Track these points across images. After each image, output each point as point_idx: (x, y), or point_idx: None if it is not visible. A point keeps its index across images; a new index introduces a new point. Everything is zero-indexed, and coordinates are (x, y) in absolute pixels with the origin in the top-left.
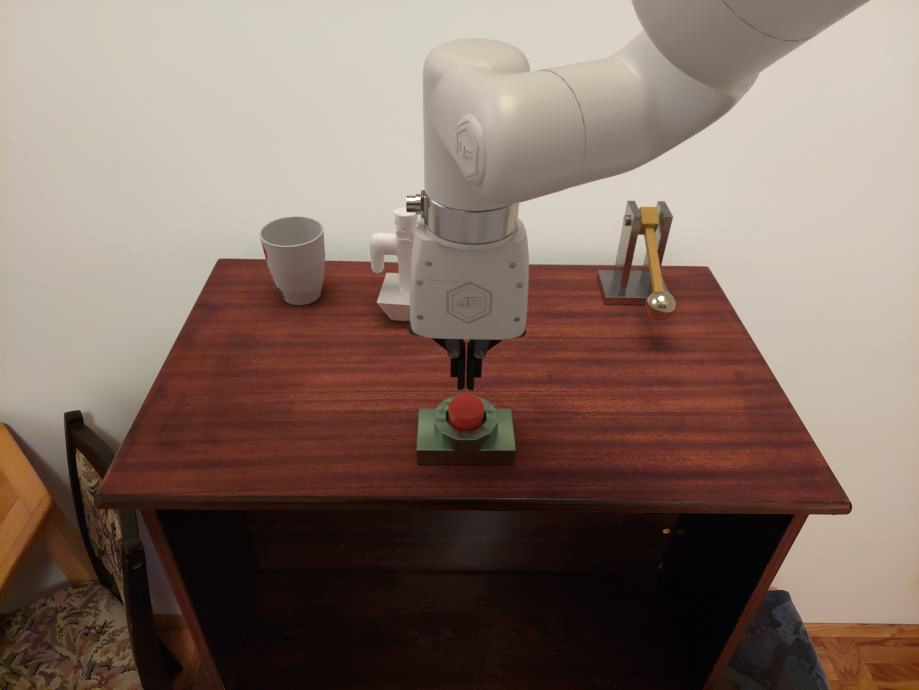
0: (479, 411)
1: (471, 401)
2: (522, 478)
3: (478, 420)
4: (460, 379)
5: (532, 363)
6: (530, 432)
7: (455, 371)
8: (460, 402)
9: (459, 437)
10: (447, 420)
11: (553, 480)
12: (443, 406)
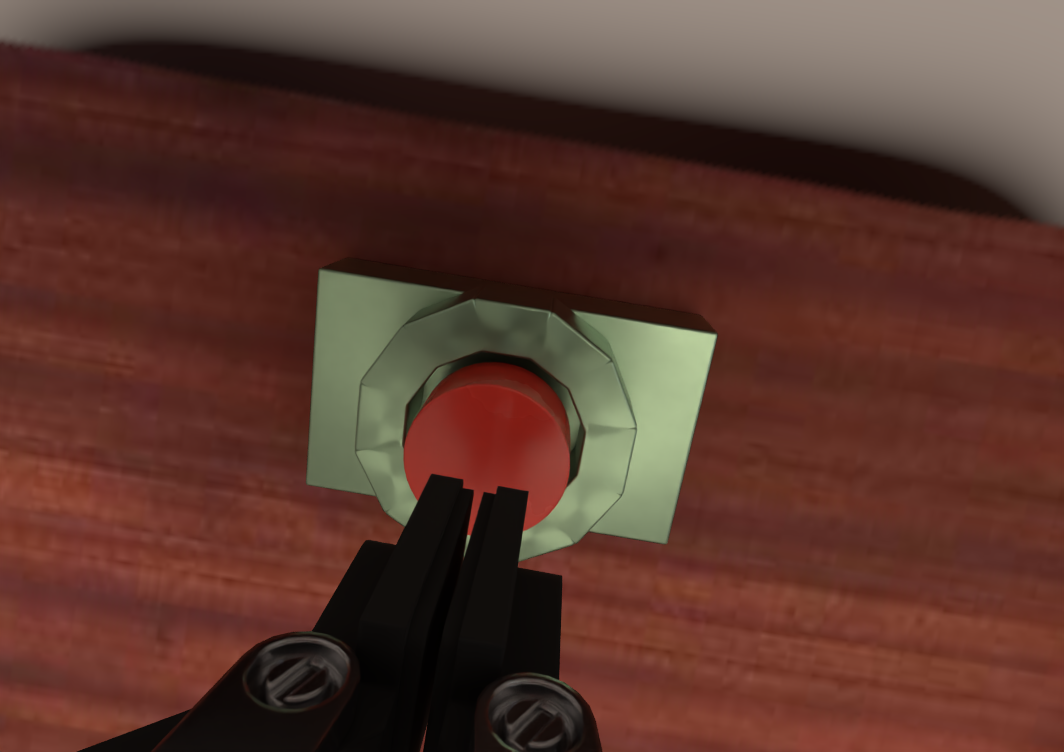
0: (429, 424)
1: None
2: (326, 188)
3: (442, 387)
4: (504, 528)
5: None
6: (266, 398)
7: (527, 597)
8: None
9: (542, 320)
10: None
11: (214, 160)
12: (580, 509)
